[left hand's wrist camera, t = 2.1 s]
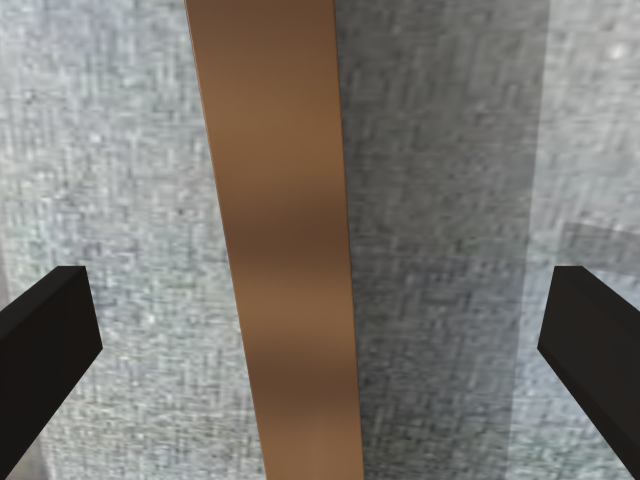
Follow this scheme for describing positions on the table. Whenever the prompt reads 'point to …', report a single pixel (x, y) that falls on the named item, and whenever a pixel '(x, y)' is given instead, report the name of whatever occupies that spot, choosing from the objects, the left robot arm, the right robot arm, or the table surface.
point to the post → (285, 223)
